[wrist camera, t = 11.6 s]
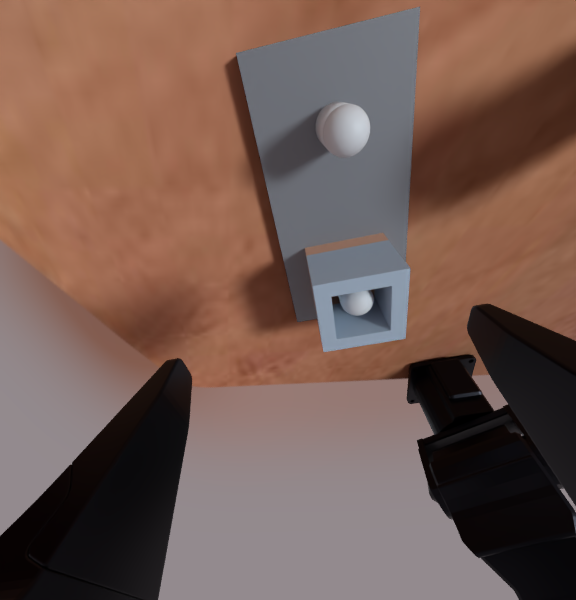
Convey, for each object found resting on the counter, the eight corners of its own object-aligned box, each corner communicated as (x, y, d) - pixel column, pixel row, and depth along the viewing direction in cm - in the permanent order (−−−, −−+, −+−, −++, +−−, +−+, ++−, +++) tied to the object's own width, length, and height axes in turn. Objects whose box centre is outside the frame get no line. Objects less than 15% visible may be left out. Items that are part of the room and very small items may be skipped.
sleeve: (382, 295, 24) (405, 338, 20) (315, 308, 24) (323, 352, 20) (383, 232, 20) (410, 268, 16) (304, 247, 21) (312, 286, 17)
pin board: (399, 298, 25) (426, 341, 21) (296, 316, 26) (301, 361, 21) (413, 10, 14) (473, -24, 10) (237, 54, 15) (223, 41, 11)
